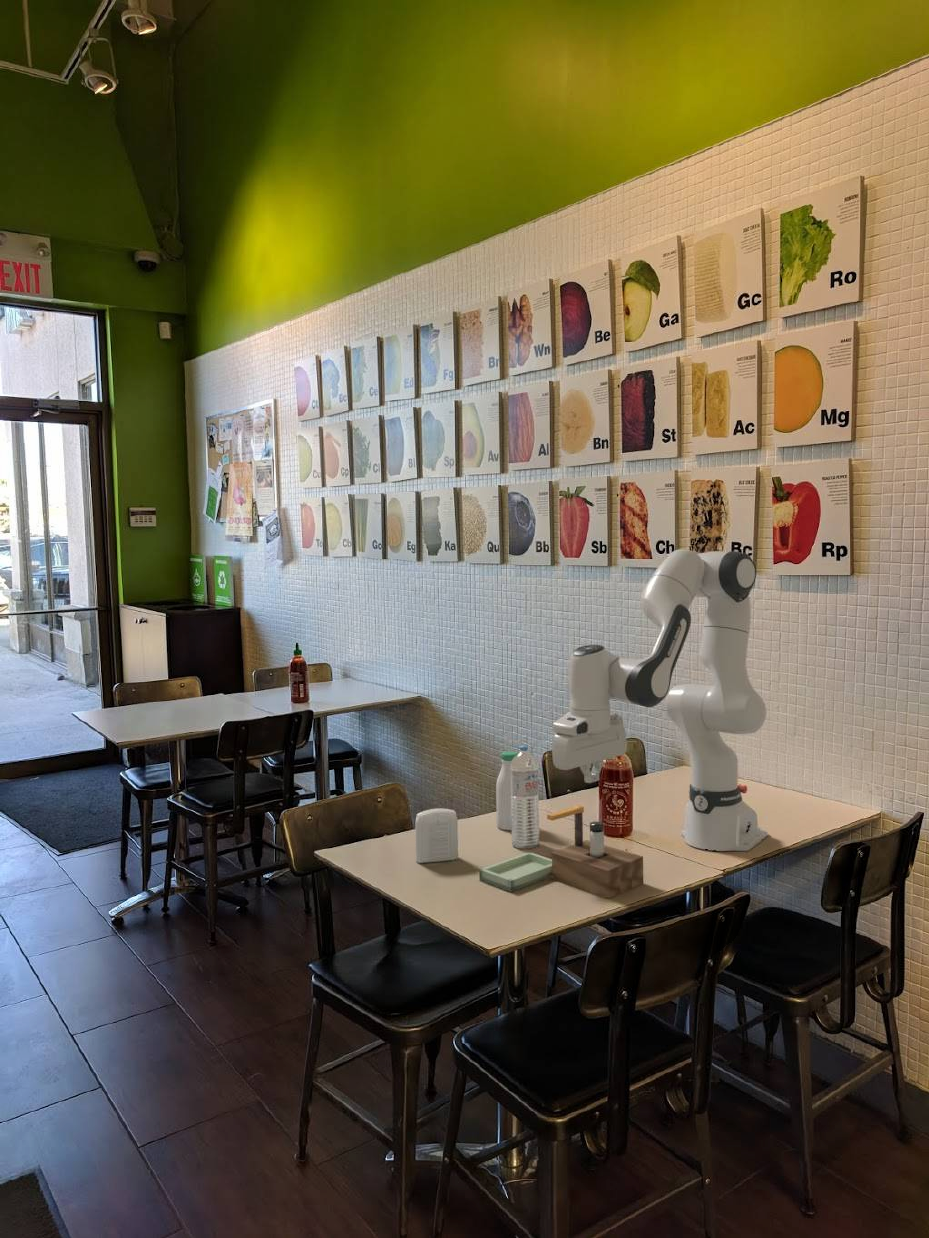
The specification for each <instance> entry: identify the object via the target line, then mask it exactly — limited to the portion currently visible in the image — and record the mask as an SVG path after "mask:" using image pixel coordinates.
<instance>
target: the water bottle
mask: <svg viewBox="0 0 929 1238" xmlns="http://www.w3.org/2000/svg"><path fill="white" fill-rule="evenodd" d="M538 765H539V764H538V761H537V759H536V758H535V757H534V756H533V755H532V754H531V753H529V752H528V745H520V746H519V752H518V754H517V755H516V756H515V757H514V758H513V760H512V761H511V763H510V769H511V819H512V820H511V822H512V824H511V825H512V831H511V844H512V846H513V847H515V848H516V849H519V850H532V849H535V848H537V847H538V846H539V844H540V815H539V814H540V811H539V809H540V808H539V807H540V805H539V804H540V803H539V786H538V785H539V784H538V783H539V779H538V777H539V776H538V769H539V766H538Z"/></svg>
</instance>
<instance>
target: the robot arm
mask: <svg viewBox="0 0 929 1238" xmlns="http://www.w3.org/2000/svg"><path fill="white" fill-rule="evenodd" d="M756 578H757V567H756V565H755V563H754V561H753V559H752V557H751V556H750V555H749V554H748V553H745V552H740V551H736V550H735V551H734V550H732V551H724V550H722V551H719V550H716V551H715V550H714V551H713V550H712V551H710V550H709V551H707V552H700V553H697V552H694V551H692V550H690V549H686V548H679V549H676V550H673V551H672V552H670V553H669V555H667V557H665V558H664V560H663V561H662V562H661V563H660V564H659V565H658V567H657V568H656V570H655V571H654V572H653V574H652V575H651V576H650V578H649V580H648V582H647V583H646V585H645V586H644V588H643V590H642V591H641V596H640V606H641V610H642V611H643V613H644V615H645V617H647V618H648V620H649V621H650V622H652V623H653V625H655V626H657V627H658V628H660V633H659V635H658V637H657V639H656V642H655V645H654V646H653V649H652V651H651V654H650V655H648V656H647V657H645V658H644V657H643V658H640V659H637V658H631V657H630V658H629V657H623V656H622V657H621V656H619V655H616V654H614V653H611V652H610V651H608V650H607V649H606V647H605V646H603V645H602V644H588V645H582V646H579V647H577V648H575V649H574V650H572V652H571V655H570V657H569V664H568V689H569V693H570V701H569V711H568V712H566V713H565V714H564V715H563V716H561V717H559V718H558V719H557V720H555V721H554V722H553V723H552V731H553V732H554V733H555V734H554V736H553V738H552V749H551V750H552V762H553V765H554V766H555V768H556V769H559V770H561V771H562V770H563V771H570V770H572V769H576V768H579V769H580V770H581V772H582V774H583V777H584V783H587V784H592V783H596V782H598V781H599V780H600V773H601V771H602V768H603V766H604V762H603V761H605V760H609V759H614V758H615V757H620V756H623V755H625V754H626V752H627V749H628V742H627V736H626V728H625V726H624V719H623V717H622V716H621V715H620V714H617V713H613V714H611V704H610V700H611V699H612V700H616V701H619V702H626V703H632V704H635V705H638V706H641V707H644V708H653V707H655V706H657V705H659V704H660V703H661V702H662V701H663V700H664V699H665V698H666V699H665V711H666V714H667V716H668V718H669V719H670V720H671V721H672V722H673V723H674V724H675V725H676V727H678V729H679V730H680V732H681V734H682V736H683V738H684V740H685V743H686V746H687V747H688V748H687V749H688V752H689V757H690V760H689V761H690V772H691V773H690V776H691V782H690V784H689V790H688V794H689V796H688V797H689V800H690V801H689V802H688V803H687V804H686V809H685V810H686V811H685V822H684V828H683V829H682V830H681V832H680V835H681V834H682V835H683V836H682V835H681V836H682V837H684V842H685V843H686V844H687V845H689V846H691V847H694V848H696V849H697V848H698V849H700V850H705V849H708V850H707V851H713V850H716V852H727V851H729V852H730V851H737V852H748V850H749V851H750V850H751V849H753V848H754V847H755V846H756V845H758V844H759V843H760V842H762V841H763V840H764V839H766V837H768V834H769V833H768V831H767V830H766V829H764V828H762V827H759V823H758V815H757V812H756V811H755V810H754V809H753V808H751V806H749V805H748V803H746V802H744V801H743V797H742V794H747V791H748V790H749V789H748V788H749V787H748V786H747V785H746V784H741V783H739V781H738V779H739V773H738V772H739V771H738V769H739V766H738V765H739V762H738V761H739V760H738V756H737V753H736V752H735V751H734V750H733V749H732V748H731V747H730V746H728V745H727V744H726V742H724V740H723V739H722V737H721V734H720V733H725V734H732V735H747V734H755V733H757V732H758V731H759V730H760V729H761V728H762V727H763V725H764V724H765V721H766V716H767V707H766V703H765V701H764V700H763V698H762V697H761V695H760V694H759V693H758V692H757V691H756V690H755V689H754V687H753V686H752V683H751V681H750V678H749V676H748V670H747V655H748V644H749V637H750V636H749V635H750V628H751V615H752V613H751V611H752V609H751V598H750V593H751V591H752V589H753V588H754V585H755V583H756ZM695 597H698V598H699V597H700V598H706V600H707V605H708V606H707V608H706V612H705V616H704V620H703V627H702V633H701V639H700V645H699V654H698V657H699V660H700V662H701V663H702V664H703V666H704V667H706V668H707V669H708V670H710V671H711V672H712V675H713V683H714V684H713V685H710V684H709V685H708V684H701V683H685V684H678V685H675V686H673V687H672V688H671V689H670V687H671V683H672V677H673V673H674V670H675V667H676V664H677V662H678V659H679V657H680V654H681V652H682V650H683V648H684V644H685V641H686V640H687V638H688V635H689V631H690V628H691V623H692V616H691V612H690V610H689V608H690V606H691V604H692V602H693V601H694V599H695ZM738 783H739V784H738ZM762 839H763V840H762ZM757 843H758V844H757Z"/></svg>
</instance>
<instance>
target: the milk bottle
mask: <svg viewBox="0 0 929 1238" xmlns="http://www.w3.org/2000/svg"><path fill="white" fill-rule="evenodd" d="M518 753H519V752H517V751H512V750H507V751H503V752H501V753H500V754H501V755H500V757H501V763H502V765H501V768H500V771H499V774H498V776H497V779H496V787H495V790H496V792H495V794H496V795H495V796H496V797H495V798H496V800H495V801H496V826H497V828H498V829H500V830H502V831H510V832H512V825H511V824H512V822H511V820H512V819H511V769H510V763H511V761H512V760H513V758H514V757H515V756H516V755H517V754H518Z"/></svg>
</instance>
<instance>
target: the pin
mask: <svg viewBox="0 0 929 1238" xmlns="http://www.w3.org/2000/svg"><path fill="white" fill-rule="evenodd" d="M604 828H605V825H604V823H603V822H602V821H592V822H590V823H589V841H590V857H593V858H597V859H600V858H602V857H604V845H605V841H604V840H605V838H604V836H605V831H604V830H605V829H604Z"/></svg>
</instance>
